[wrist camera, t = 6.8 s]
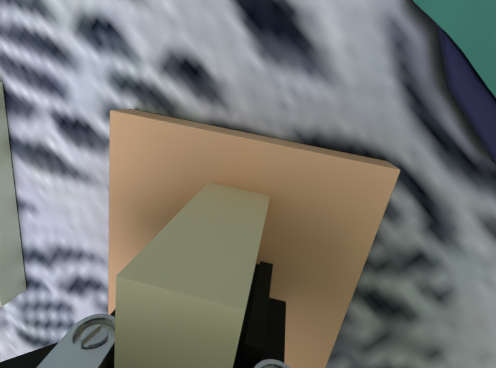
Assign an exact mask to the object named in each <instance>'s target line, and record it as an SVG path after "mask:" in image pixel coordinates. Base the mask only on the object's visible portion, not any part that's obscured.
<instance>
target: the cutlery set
mask: <svg viewBox="0 0 496 368" xmlns="http://www.w3.org/2000/svg"><path fill="white" fill-rule="evenodd" d="M413 2H414V3H415V4H417V5H418V6H419V7H420V8H421V9H422V10H423V11H424V12H425V13H426V14H427V15H428V16H430V17H431V18H432V19H433V20H434V21H435V22H436V25H437V30H438V36H439V42H440V47H441V53H442V59H443V64H444V70H445V76H446V81H447V87H448V89H449V91H450V92H451V94H452V95H453V97H454V99H455V100H456V102H457V104H458V105H459V107H460V109H461V110H462V112H463V113H464V115H465V117H466V118H467V120H468V122H469V123H470V125H471V127H472V128H473V130H474V131H475V133H476V135H477V136H478V138H479V140H480V141H481V143H482V145H483V146H484V148H485V149H486V151H487V153H488V154H489V156H490V158H491V159H492V161H493V162H494V163H495V164H496V0H413Z"/></svg>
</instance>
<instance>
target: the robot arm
mask: <svg viewBox="0 0 496 368" xmlns="http://www.w3.org/2000/svg"><path fill="white" fill-rule="evenodd" d="M272 269H273V264H271V263H267V262H263V261H260V264H255V269H254V273H253V278H252V283H251V287H250V292H249V296H248V301H247V306H246V310H245V315H244V319H243V324H242V328H241V333H240V337H239V342H238V346H237V351H236V355H235V360H234V364H233V368H290V367H289V366H287V365H286V364H285V363H284V359H285V323H286V301H282V300H278V299H274V298H270V297H269V296H270V287H271V278H272ZM114 355H115V309H114V311H113V312H112V313H111V314H110V315H109V314H96V315H91V316H89V317H86V318H84V319H82V320H81V321H79V322H77V323H76V324H75V325H74V326H73V327H72V328H71V329H70V330H69V331H68V332H67V334H66V335H65V336H64V337H63V338H62V339H61V340H60V342H58V343H55V344H52V345H49V346H46V347H43V348H40V349H38V350H35V351H32V352H29V353H26V354H23V355H20V356H17V357H14V358H11V359H9V360H6V361H3V362H0V368H114Z"/></svg>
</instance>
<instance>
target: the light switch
mask: <svg viewBox="0 0 496 368" xmlns="http://www.w3.org/2000/svg"><path fill="white" fill-rule="evenodd" d="M399 173H400V169H398V168H397V167H395V166H394V165H392V164H391V163H389V162H388V161H384V160H379V159H374V158H369V157H364V156H359V155H354V154H349V153H345V152H340V151H335V150H330V149H325V148H320V147H315V146H310V145H305V144H300V143H295V142H291V141H286V140H281V139H276V138H271V137H266V136H261V135H256V134H251V133H246V132H241V131H236V130H232V129H227V128H222V127H217V126H212V125H207V124H202V123H197V122H192V121H187V120H182V119H177V118H173V117H168V116H163V115H158V114H153V113H148V112H143V111H138V110H133V109H122V110H110V184H109V307H108V314H109V315H110V314H111V313H112V312H113V311H114V309H115V355H114V368H233V364H234V360H235V355H236V351H237V346H238V342H239V337H240V333H241V328H242V324H243V319H244V315H245V310H246V306H247V301H248V296H249V292H250V287H251V283H252V278H253V273H254V269H255V264H260V261H263V262H267V263H271V264H273V269H272V278H271V287H270V296H269V297H270V298H274V299H278V300H282V301H286V323H285V359H284V363H285V364H286V365H287V366H289V367H290V368H325V367H326V365H327V362H328V359H329V357H330V354H331V351H332V349H333V346H334V344H335V341H336V338H337V336H338V333H339V330H340V328H341V325H342V323H343V320H344V317H345V315H346V312H347V309H348V307H349V304H350V302H351V299H352V296H353V294H354V291H355V288H356V286H357V283H358V281H359V278H360V275H361V273H362V270H363V267H364V265H365V262H366V260H367V257H368V254H369V252H370V249H371V246H372V244H373V241H374V239H375V236H376V233H377V231H378V228H379V225H380V223H381V220H382V218H383V215H384V212H385V210H386V207H387V204H388V202H389V199H390V197H391V194H392V191H393V189H394V186H395V183H396V181H397V178H398V176H399Z"/></svg>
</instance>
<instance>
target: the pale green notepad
mask: <svg viewBox="0 0 496 368" xmlns="http://www.w3.org/2000/svg"><path fill="white" fill-rule="evenodd" d="M24 290H26V281H25V273H24V264H23V255H22V247H21V238H20V230H19V221H18V212H17V204H16V195H15V187H14V178H13V169H12V161H11V152H10V144H9V135H8V126H7V118H6V109H5V101H4V92H3V83H2V82H0V307H2V306H4V305H5V304H6V303H8V302H9V301H11V300H12V299H13V298H15V297H16V296H18V295H19V294H20V293H22V292H23V291H24Z"/></svg>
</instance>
